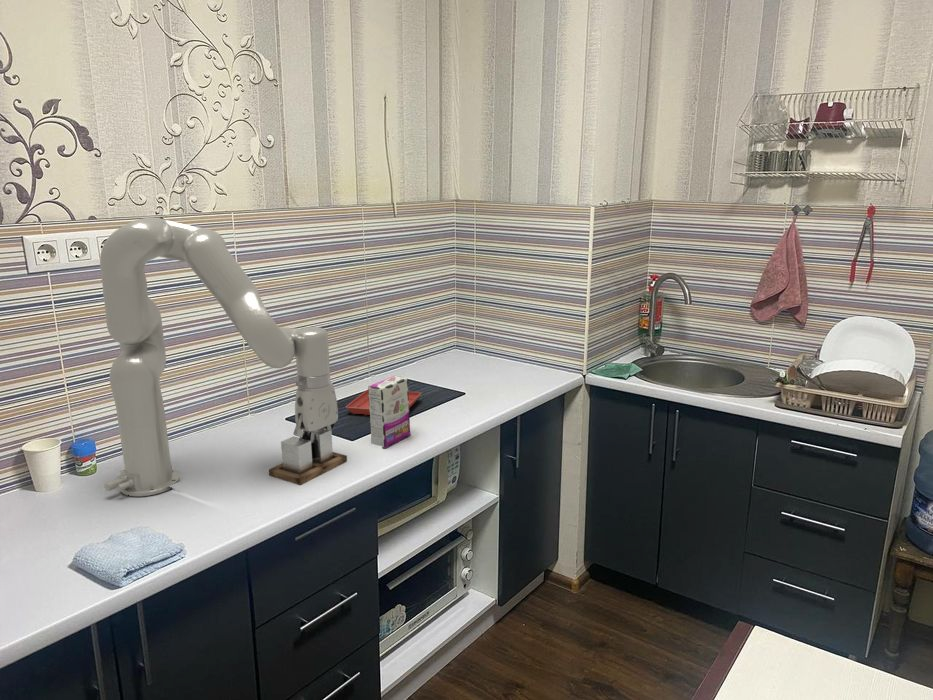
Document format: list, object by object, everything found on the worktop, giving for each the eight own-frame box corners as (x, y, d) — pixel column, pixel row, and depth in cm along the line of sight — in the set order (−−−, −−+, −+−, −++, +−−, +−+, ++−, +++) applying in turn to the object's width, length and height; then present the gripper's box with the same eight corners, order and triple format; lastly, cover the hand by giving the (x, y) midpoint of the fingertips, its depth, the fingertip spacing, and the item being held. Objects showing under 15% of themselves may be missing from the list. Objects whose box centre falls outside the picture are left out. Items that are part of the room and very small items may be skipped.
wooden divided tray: (300, 489, 153) (299, 478, 153) (269, 479, 159) (268, 469, 158) (347, 465, 166) (346, 455, 166) (317, 456, 171) (316, 447, 171)
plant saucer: (344, 416, 201) (344, 406, 200) (368, 398, 218) (367, 388, 217) (403, 421, 197) (402, 411, 196) (422, 402, 214) (422, 392, 213)
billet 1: (300, 479, 156) (298, 446, 154) (283, 474, 159) (280, 441, 157) (313, 473, 160) (310, 440, 158) (296, 468, 162) (293, 436, 160)
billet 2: (321, 467, 162) (319, 435, 160) (304, 462, 165) (302, 430, 163) (333, 461, 165) (331, 430, 163) (316, 456, 168) (314, 425, 166)
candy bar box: (396, 432, 188) (394, 374, 184) (410, 435, 185) (409, 377, 181) (369, 445, 178) (367, 385, 174) (384, 449, 176) (382, 388, 172)
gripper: (299, 392, 151) (304, 469, 156) (350, 374, 165) (353, 445, 169) (275, 386, 155) (281, 462, 159) (327, 369, 169) (330, 439, 173)
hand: (318, 452), depth 164 cm, fingers closed on billet 2, 3 cm apart
